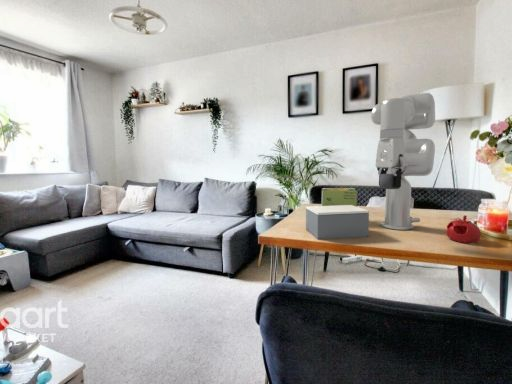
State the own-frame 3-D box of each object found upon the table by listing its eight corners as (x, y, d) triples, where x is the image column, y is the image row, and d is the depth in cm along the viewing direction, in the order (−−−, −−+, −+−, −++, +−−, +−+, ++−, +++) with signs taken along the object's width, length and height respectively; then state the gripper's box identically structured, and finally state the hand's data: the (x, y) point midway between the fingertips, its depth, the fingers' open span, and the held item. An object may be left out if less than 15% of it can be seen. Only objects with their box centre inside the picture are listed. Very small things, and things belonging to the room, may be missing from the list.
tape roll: (391, 187, 99) (392, 173, 98) (403, 188, 93) (404, 174, 92) (375, 187, 98) (376, 174, 97) (387, 189, 92) (387, 174, 91)
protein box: (356, 224, 121) (357, 190, 119) (321, 222, 124) (322, 190, 122) (353, 219, 131) (353, 187, 130) (321, 218, 134) (321, 187, 133)
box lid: (351, 206, 114) (351, 204, 114) (368, 212, 100) (369, 210, 100) (306, 208, 112) (306, 206, 111) (317, 214, 98) (317, 212, 98)
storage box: (350, 227, 115) (351, 207, 114) (368, 236, 101) (368, 213, 100) (305, 229, 113) (306, 208, 112) (317, 239, 99) (317, 215, 98)
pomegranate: (464, 236, 100) (466, 212, 99) (488, 244, 90) (490, 217, 89) (438, 236, 100) (440, 212, 99) (459, 245, 90) (461, 218, 89)
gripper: (367, 137, 101) (366, 184, 103) (399, 133, 84) (396, 189, 86) (385, 137, 102) (383, 184, 104) (420, 133, 85) (416, 188, 87)
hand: (389, 186), depth 95 cm, fingers closed on tape roll, 6 cm apart
